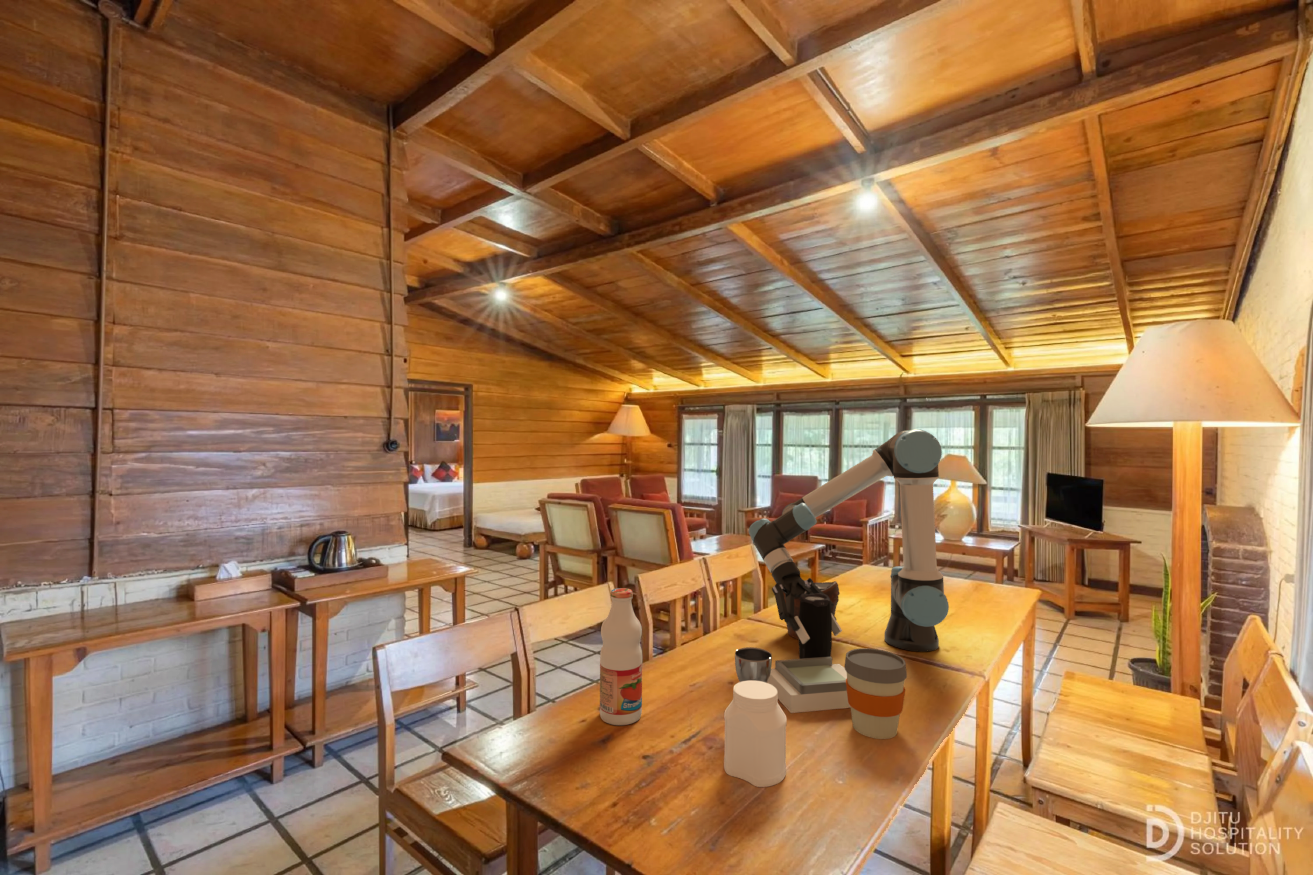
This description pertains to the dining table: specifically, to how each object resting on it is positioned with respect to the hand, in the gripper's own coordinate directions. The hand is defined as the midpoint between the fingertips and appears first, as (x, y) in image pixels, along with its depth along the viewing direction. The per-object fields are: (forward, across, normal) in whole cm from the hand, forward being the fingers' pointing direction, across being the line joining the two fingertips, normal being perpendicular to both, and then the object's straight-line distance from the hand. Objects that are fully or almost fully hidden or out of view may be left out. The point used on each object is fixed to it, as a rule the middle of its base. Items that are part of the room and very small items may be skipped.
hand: (822, 637), depth 155 cm
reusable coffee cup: (+26, +13, +12) cm, 31 cm away
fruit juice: (+3, +58, -11) cm, 59 cm away
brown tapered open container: (-9, -18, -23) cm, 30 cm away
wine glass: (+15, +34, +2) cm, 37 cm away
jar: (+25, +45, +11) cm, 53 cm away
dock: (+14, +9, 0) cm, 16 cm away
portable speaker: (+5, 0, -9) cm, 10 cm away
